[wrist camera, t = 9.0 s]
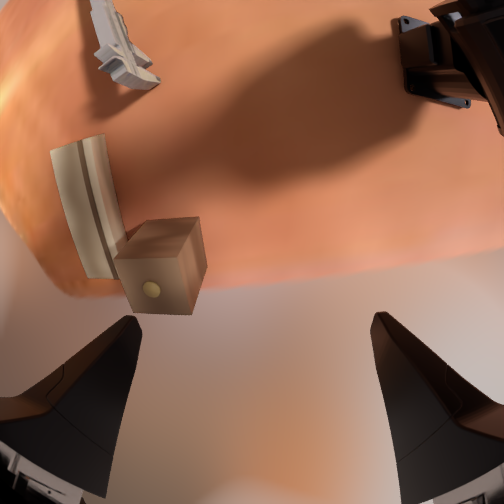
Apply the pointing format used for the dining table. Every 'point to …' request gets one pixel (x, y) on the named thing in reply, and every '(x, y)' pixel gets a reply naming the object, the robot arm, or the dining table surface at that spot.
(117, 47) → the caliper
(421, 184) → the dining table surface
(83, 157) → the board
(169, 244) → the brown block with knob
